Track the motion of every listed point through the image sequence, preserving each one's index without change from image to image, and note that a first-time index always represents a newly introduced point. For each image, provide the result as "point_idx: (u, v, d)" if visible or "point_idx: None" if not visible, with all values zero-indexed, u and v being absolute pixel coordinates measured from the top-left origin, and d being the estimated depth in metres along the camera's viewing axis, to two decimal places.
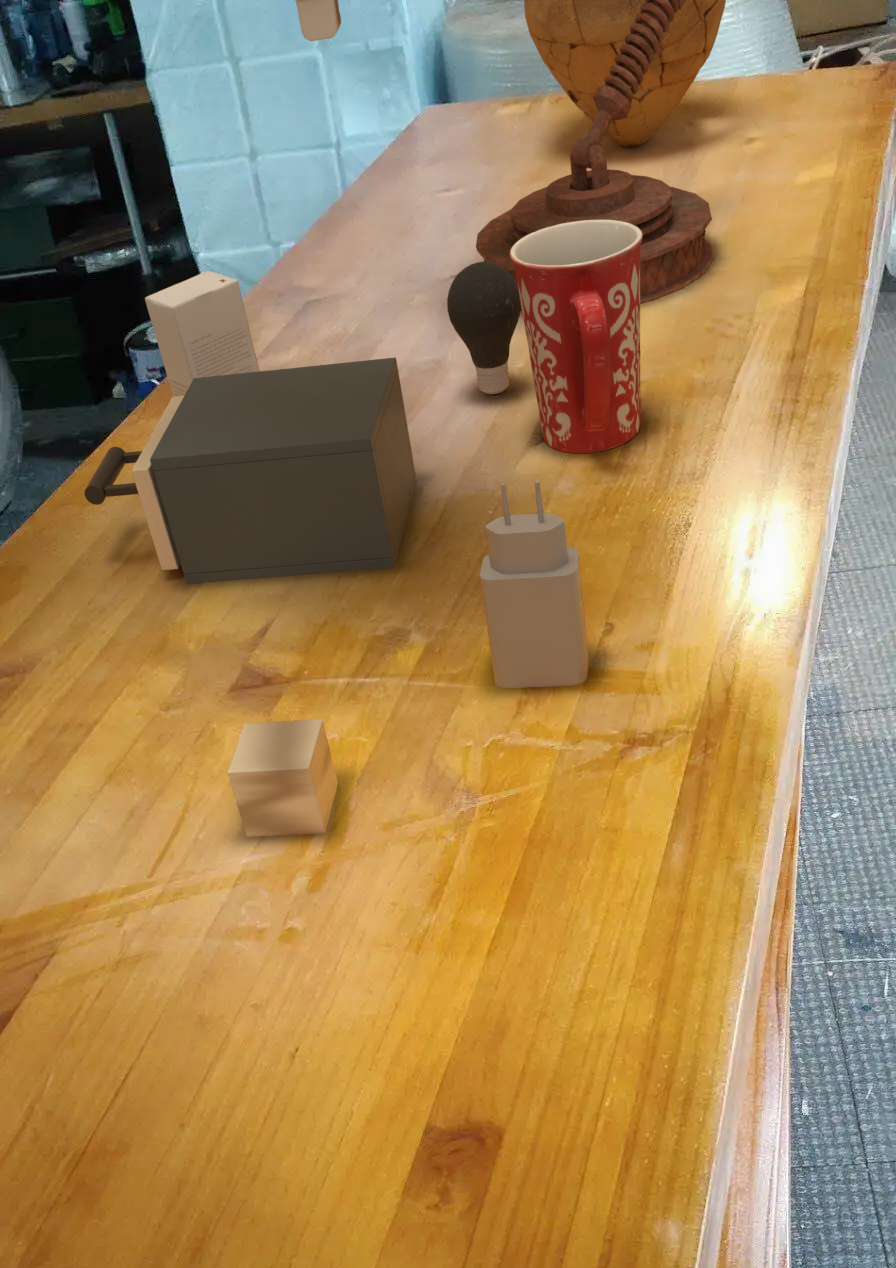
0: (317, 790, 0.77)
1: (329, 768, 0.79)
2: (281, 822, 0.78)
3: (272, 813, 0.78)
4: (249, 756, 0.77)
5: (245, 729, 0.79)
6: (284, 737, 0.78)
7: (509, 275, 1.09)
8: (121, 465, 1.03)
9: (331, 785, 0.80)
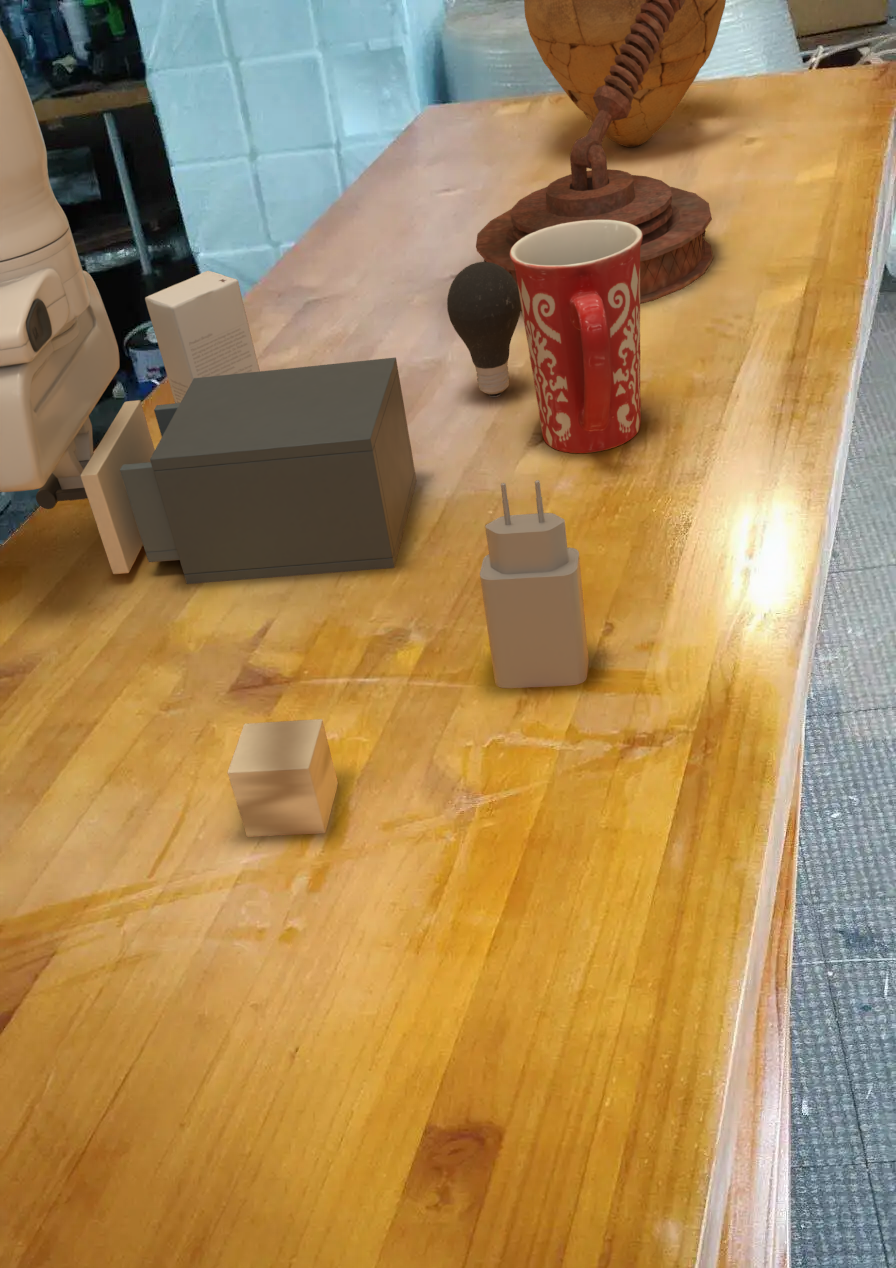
0: (317, 790, 0.77)
1: (329, 768, 0.79)
2: (281, 822, 0.78)
3: (272, 813, 0.78)
4: (249, 756, 0.77)
5: (245, 729, 0.79)
6: (284, 737, 0.78)
7: (509, 275, 1.09)
8: None
9: (331, 785, 0.80)
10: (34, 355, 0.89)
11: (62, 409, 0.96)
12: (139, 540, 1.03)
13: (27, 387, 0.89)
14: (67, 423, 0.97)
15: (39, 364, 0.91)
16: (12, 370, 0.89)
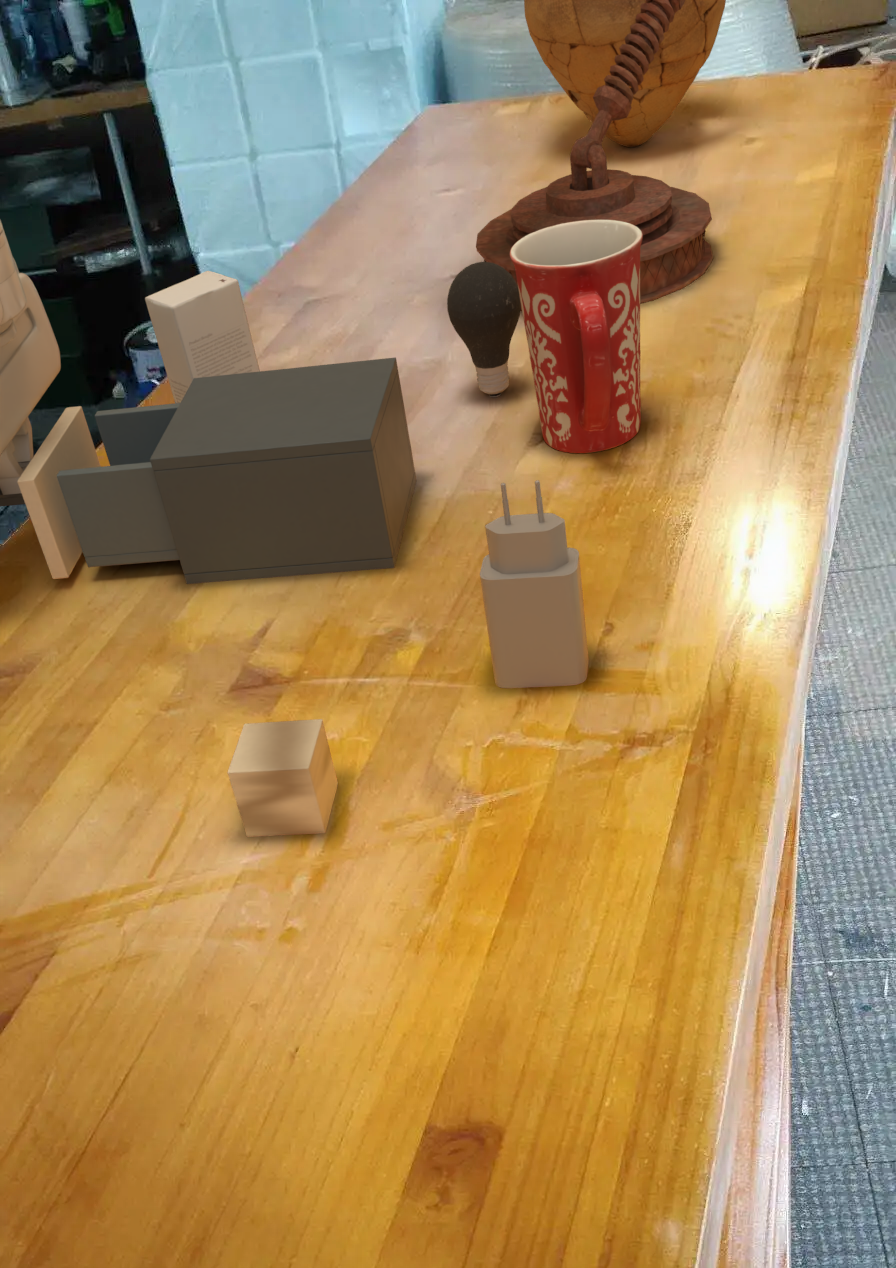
0: (317, 790, 0.77)
1: (329, 768, 0.79)
2: (281, 822, 0.78)
3: (272, 813, 0.78)
4: (249, 756, 0.77)
5: (245, 729, 0.79)
6: (284, 737, 0.78)
7: (509, 275, 1.09)
8: None
9: (331, 785, 0.80)
10: None
11: None
12: (80, 545, 1.04)
13: None
14: (4, 424, 0.97)
15: None
16: None
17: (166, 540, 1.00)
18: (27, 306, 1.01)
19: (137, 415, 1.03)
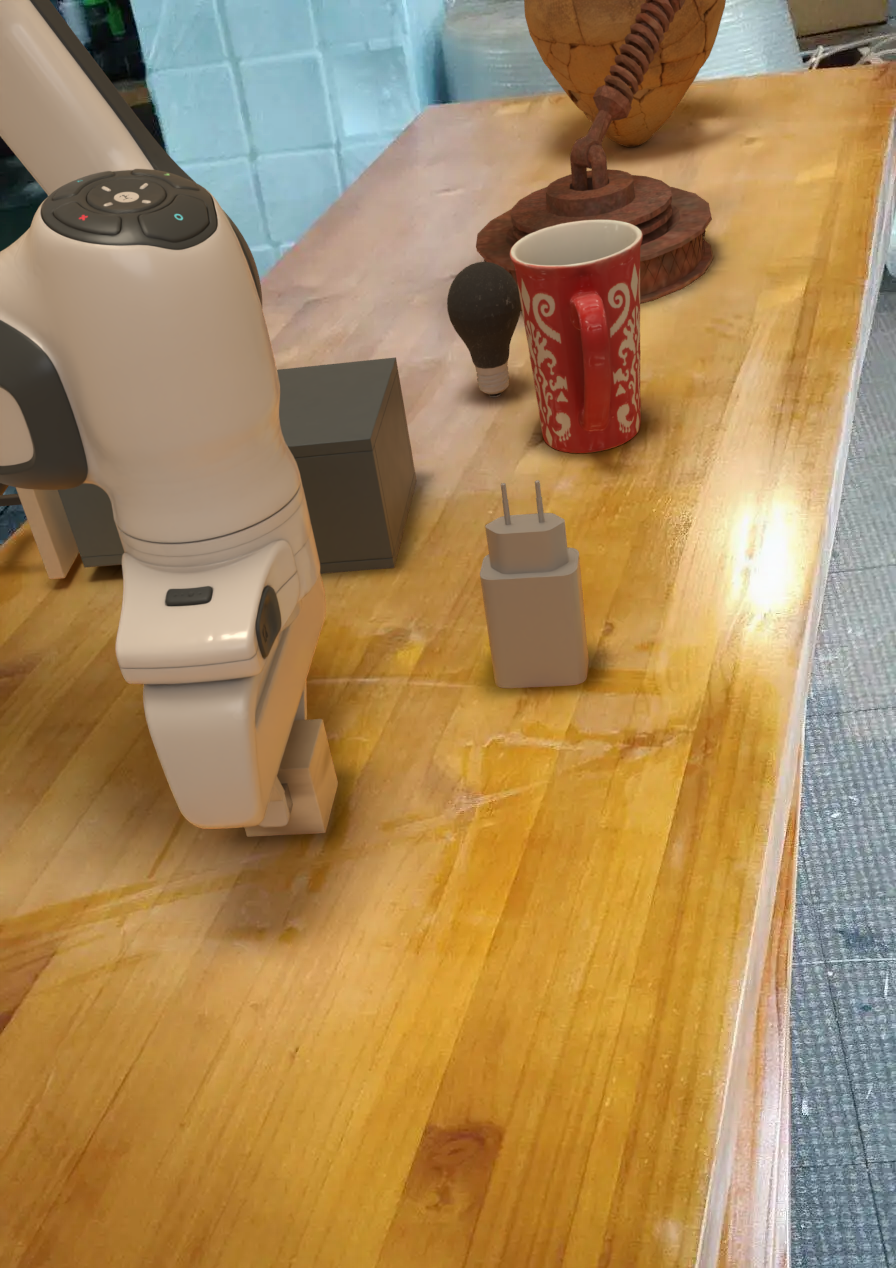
0: (317, 789, 0.77)
1: (329, 768, 0.80)
2: None
3: None
4: None
5: None
6: None
7: (509, 275, 1.09)
8: None
9: (331, 785, 0.80)
10: (263, 664, 0.65)
11: (279, 707, 0.72)
12: (76, 545, 1.04)
13: (252, 706, 0.65)
14: (283, 723, 0.72)
15: (264, 669, 0.66)
16: (233, 685, 0.65)
17: None
18: None
19: None
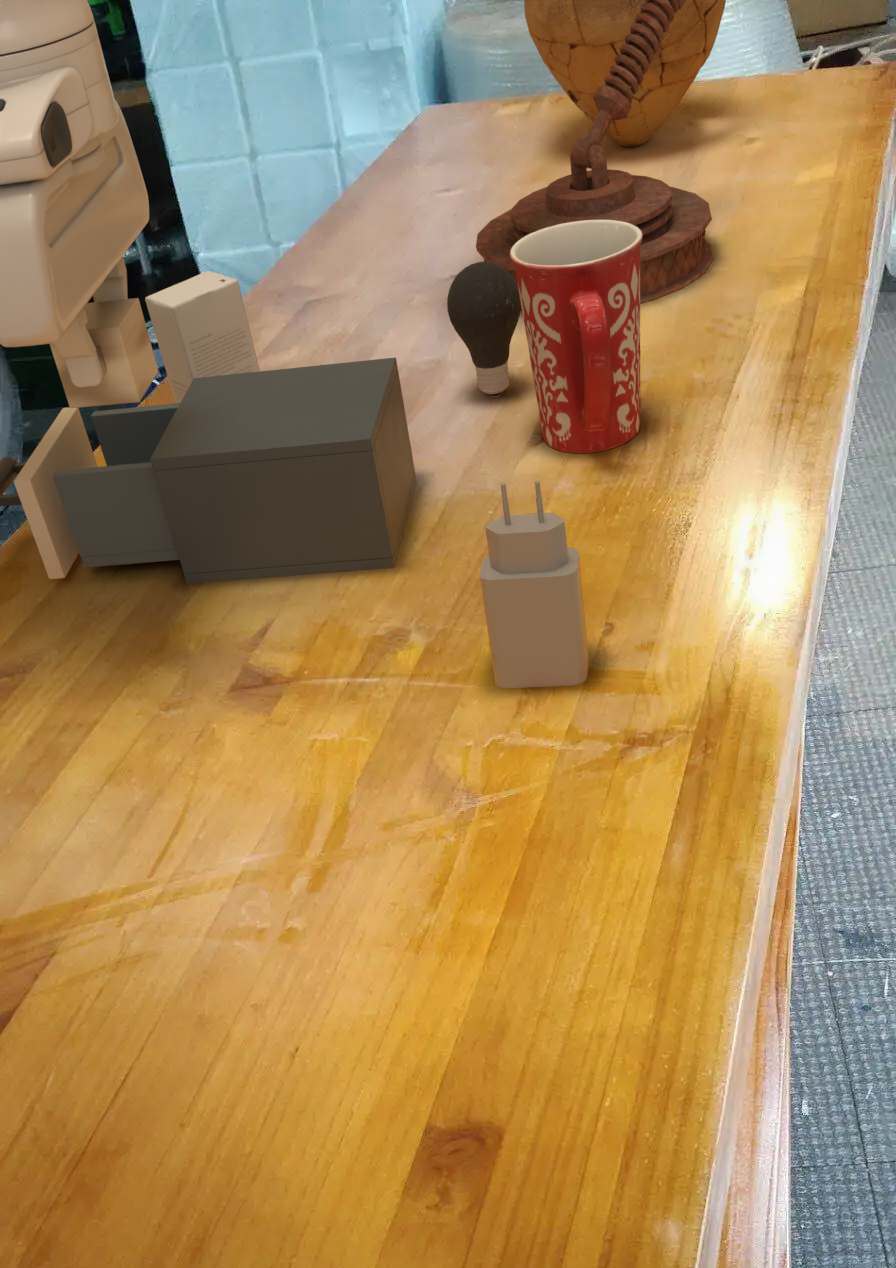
0: (129, 354, 0.84)
1: (146, 348, 0.87)
2: (99, 390, 0.86)
3: None
4: None
5: None
6: (102, 310, 0.85)
7: (509, 275, 1.09)
8: (12, 475, 1.05)
9: (149, 365, 0.87)
10: (50, 170, 0.72)
11: (83, 252, 0.79)
12: (76, 545, 1.04)
13: (41, 211, 0.73)
14: (88, 270, 0.80)
15: (56, 185, 0.74)
16: (23, 189, 0.72)
17: (162, 540, 1.00)
18: (114, 134, 0.84)
19: (134, 415, 1.03)
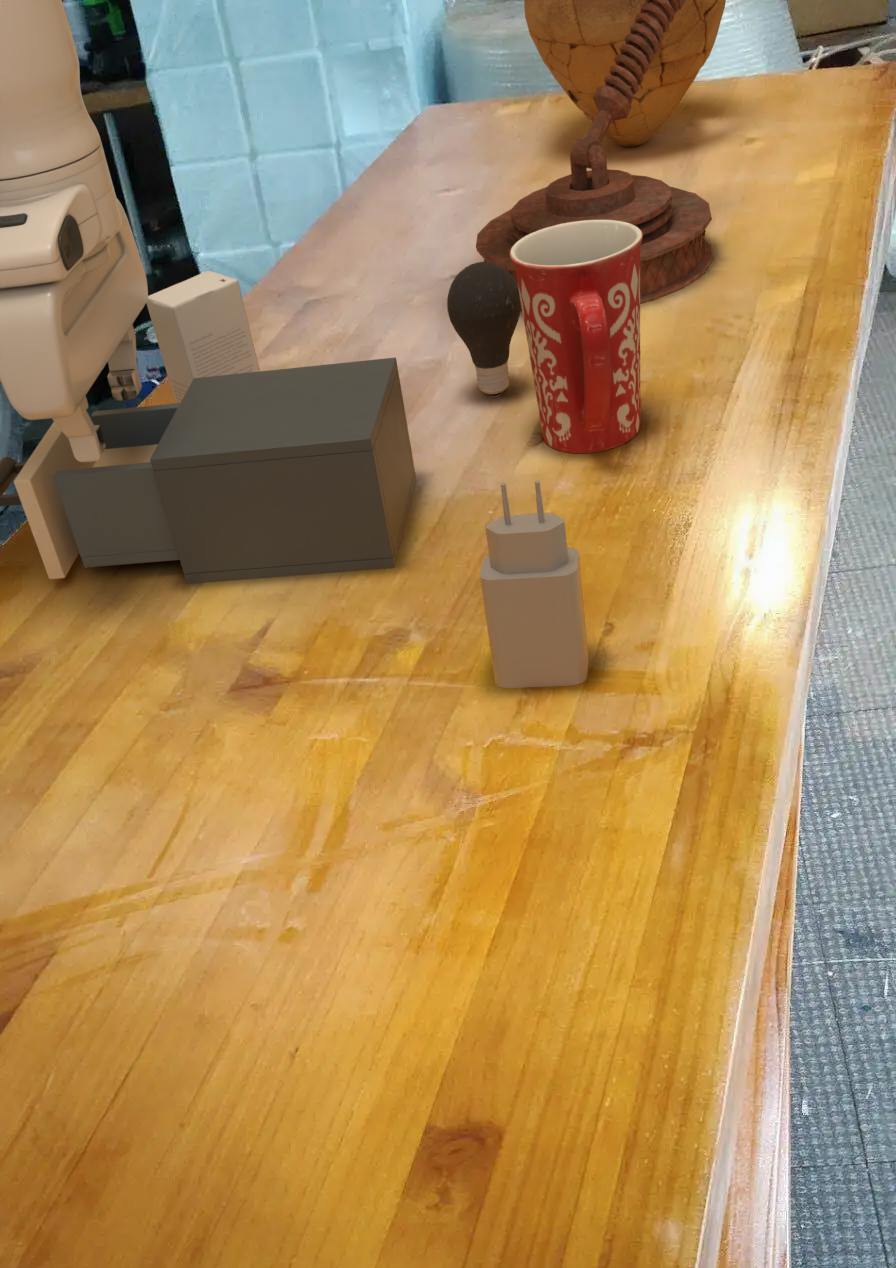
0: None
1: None
2: None
3: None
4: None
5: (103, 452, 1.03)
6: (131, 455, 1.02)
7: (509, 275, 1.09)
8: (12, 475, 1.05)
9: None
10: (66, 273, 0.85)
11: (92, 336, 0.92)
12: (76, 545, 1.04)
13: (58, 307, 0.86)
14: (97, 351, 0.93)
15: (70, 284, 0.87)
16: (42, 289, 0.85)
17: (162, 540, 1.00)
18: (117, 230, 0.97)
19: (134, 415, 1.03)
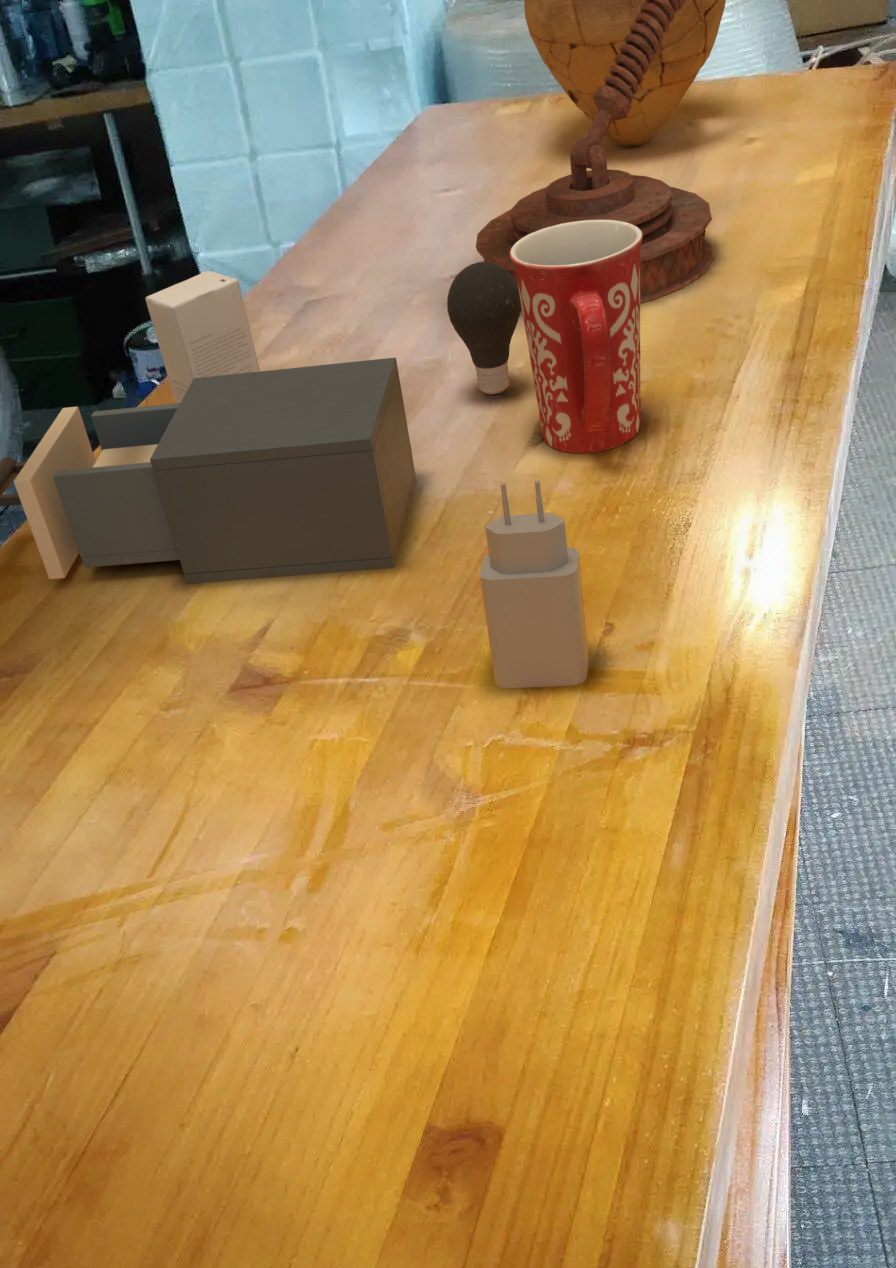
0: None
1: None
2: None
3: None
4: None
5: (103, 452, 1.03)
6: (131, 455, 1.02)
7: (509, 275, 1.09)
8: (12, 475, 1.05)
9: None
10: None
11: None
12: (76, 545, 1.04)
13: None
14: None
15: None
16: None
17: (162, 540, 1.00)
18: None
19: (134, 415, 1.03)
